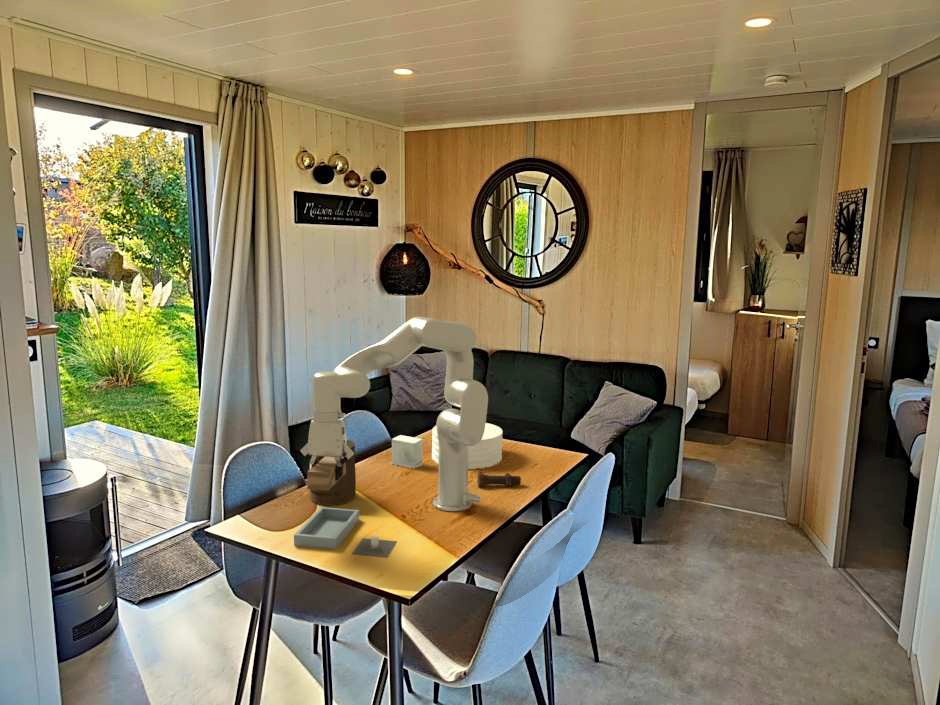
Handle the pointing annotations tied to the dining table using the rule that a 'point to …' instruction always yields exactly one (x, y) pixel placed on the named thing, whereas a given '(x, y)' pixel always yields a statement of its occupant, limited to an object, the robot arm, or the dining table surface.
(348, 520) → the tray
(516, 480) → the bolt
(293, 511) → the dining table surface
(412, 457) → the skincare box
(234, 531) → the dining table surface
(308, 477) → the brown rectangular block
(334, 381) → the robot arm
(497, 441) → the plate stack
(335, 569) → the dining table surface
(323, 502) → the wooden container
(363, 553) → the stud base
